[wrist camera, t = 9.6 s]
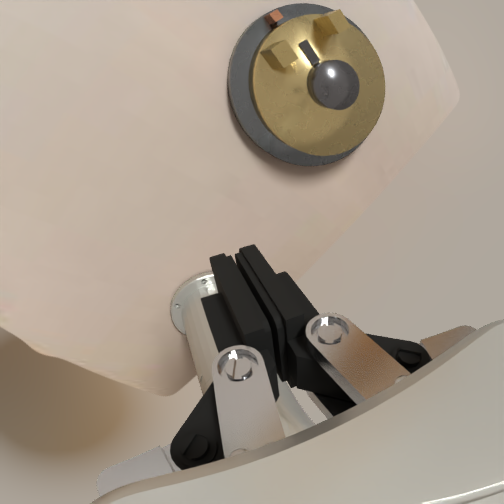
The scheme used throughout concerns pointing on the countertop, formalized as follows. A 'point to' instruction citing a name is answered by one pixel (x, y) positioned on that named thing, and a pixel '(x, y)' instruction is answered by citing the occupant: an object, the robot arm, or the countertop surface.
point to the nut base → (240, 85)
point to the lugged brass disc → (317, 84)
